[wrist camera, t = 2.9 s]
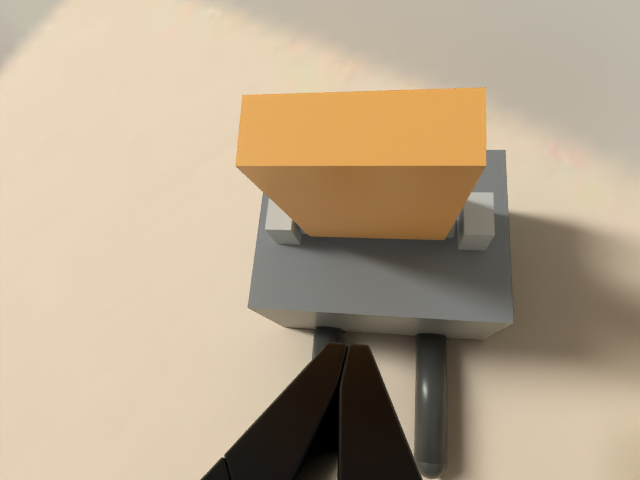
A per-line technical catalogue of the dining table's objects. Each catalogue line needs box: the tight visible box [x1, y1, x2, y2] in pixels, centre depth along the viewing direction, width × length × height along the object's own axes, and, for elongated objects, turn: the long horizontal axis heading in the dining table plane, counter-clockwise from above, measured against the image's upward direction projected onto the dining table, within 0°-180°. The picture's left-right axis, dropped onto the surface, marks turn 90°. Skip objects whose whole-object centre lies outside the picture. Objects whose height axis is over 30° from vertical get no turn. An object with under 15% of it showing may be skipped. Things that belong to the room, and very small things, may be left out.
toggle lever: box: [236, 87, 486, 240], centre depth 13 cm, size 2×6×9 cm, turn 85°
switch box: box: [248, 150, 514, 479], centre depth 19 cm, size 13×10×8 cm
